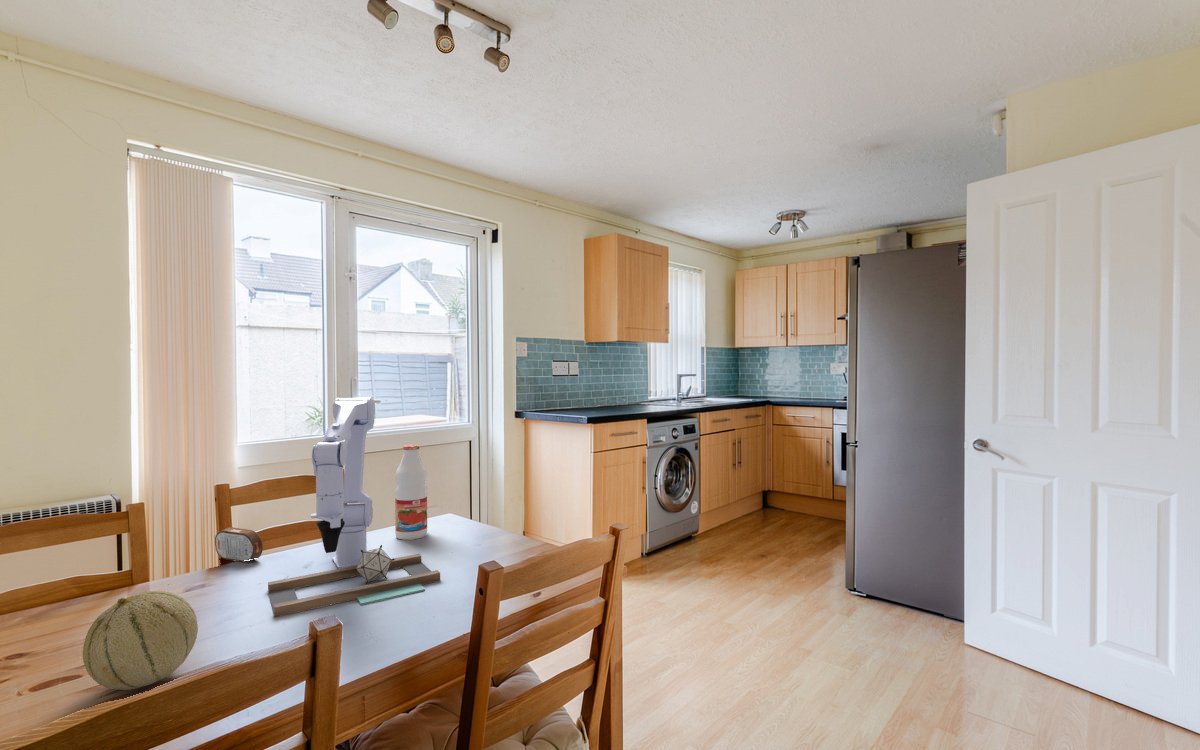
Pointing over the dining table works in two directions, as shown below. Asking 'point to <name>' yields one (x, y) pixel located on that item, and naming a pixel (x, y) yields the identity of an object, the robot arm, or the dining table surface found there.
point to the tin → (238, 544)
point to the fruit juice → (410, 496)
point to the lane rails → (345, 594)
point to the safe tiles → (390, 594)
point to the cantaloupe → (140, 640)
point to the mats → (291, 595)
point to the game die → (373, 564)
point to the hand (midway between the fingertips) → (330, 551)
